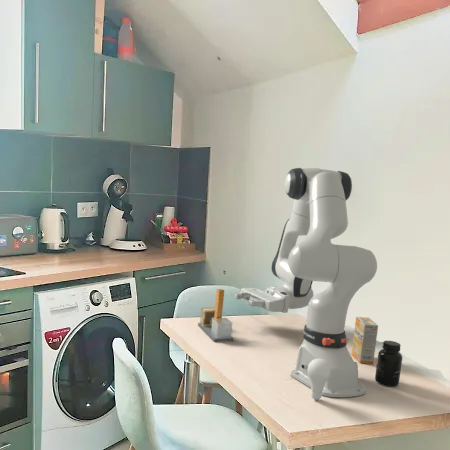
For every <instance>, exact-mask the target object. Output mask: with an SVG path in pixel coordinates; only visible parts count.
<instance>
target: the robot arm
mask: <svg viewBox="0 0 450 450" xmlns="http://www.w3.org/2000/svg"><path fill="white" fill-rule="evenodd" d="M287 172H288V173H287V174H286V177H285V180H284V189H285V193H286V195H287V196H288V198H290V199H293V204H292V205H293V206H292V210H291V216H290V218H288V219H287V220H286V222H285V224H284V227H283V230H282V233H281V237H280V240H279V243H278V248H277V252H276V254H275V256H274V258H273V261H272V263H271V272H272V275H274V277H277V278H278V279H279V280H281V281H282V282H284V283H283V285H276V286H275V285H272V286H271V285H270V286H268V287H267V288H266V289H265V290H263V289H260V288H256V287H242V288H241V289H240V292H239V293H236V294H234V295H235V297H234V298H235V299H236V300H242V299H243V300H245V301H247V302H249V303H248V305H249V306H251V307H259V308H262V309H263V310H266V311H267V312H271V313H273V312H274V313H283V314H287V313H288V311H289V310H297V309H303V308H306V307H307V306H308V307H307V315H306V322H305V325H304V328H303V331H302V332H303V334H302V337H303V341H302V343H301V345H300V346H299V348H298V351H297V355H296V359H295V367H294V369H292V370H291V371H290V376H291V377H292V378H294V379H296V381H297V380H298V382H301V383H302V384H303V385H305V386H307V387H309V388H310V389H311V380H310V378H309V375H308V371H307V369H308V365H309V363H310V362H311V361H312V360H314V359H318V358H320V359H324V360H325V361H327V362H328V363H329V365H330V367H331V375H330V377H329V379H328V380H327V381H326V383H325V385H324V388H323V391H322V395H321V396H325V397H331V398H352V397H353V396H354V397H359V396H362V395H365V394H366V392H367V389H366V387H364V385H362V384H361V382H359V369H358V366H359V364H358V362H357V361H354V359H353V357H352V354H350V351H349V350H348V348H347V343H349V338H347V333H346V330H345V326H346V321H347V320H346V319H347V314H348V309H349V306H350V303H351V301H352V299H353V297H354V296H355V295H356V293H357V292H358V291H359V290H360V289H362V287H363V286H365V285H366V284H367V283H369V282H371V281H372V280H373V278H375V275H376V273H377V270H378V262H377V259H376V256H375V254H374V253H373V252H372V251H371V250H370V249H366V248H362V247H361V246H356V245H343V244H334V243H332V241H331V240H332V239H334V238H337V237H339V236H341V235H342V234H344V233H345V232H346V231H347V228H348V225H349V221H348V219H349V218H348V210H347V200H349V198H350V196H351V194H352V192H353V190H352V189H353V184H352V183H353V182H352V177H351V176H350V175H349V173H347V172H344V171H340V170H337V171H336V170H331V169H323V168H318V167H317V168H316V167H315V168H312V167H309V168H306V167H305V168H301V167H295V168H291V169H290V170H289V171H287ZM299 236H304V238H303V240H302V241H300V242H299V243H297V241H298V238H299ZM313 282H319V283H321V282H322V283H323V282H324V283H329V285H328V286H327V288H326V289H325V290H323V291H322V292H319V293H316V294H314V291H313V288H312V286H313V285H312V284H313Z"/></svg>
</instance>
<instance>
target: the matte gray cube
mask: <svg viewBox="0 0 450 450" xmlns="http://www.w3.org/2000/svg"><path fill="white" fill-rule="evenodd" d="M232 331H233V322H232V320H229V318H227V317H222V318H212V328H211V334H212V335H213V336H214V337H215V338H216V339H229V338H231V337H232V334H233V333H232Z"/></svg>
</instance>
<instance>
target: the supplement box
mask: <svg viewBox="0 0 450 450" xmlns="http://www.w3.org/2000/svg"><path fill="white" fill-rule="evenodd" d="M354 323H355V324H354V332H353V337H352V338H353V339H352V345H351V346H352V347H351V356H353V357H354V358H355V359H356V360H357V361H358V363H359V364H369V365H372V364H373V365H374V360H375V352H376V344H377V337H378V330H379V325H378V323H376V322H374V321H373V320H372V319H371V318H370V317H362V316H356V317H355V322H354Z"/></svg>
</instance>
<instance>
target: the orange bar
mask: <svg viewBox="0 0 450 450" xmlns="http://www.w3.org/2000/svg"><path fill="white" fill-rule="evenodd" d="M224 295H225V290H224V289H222V288H218V289H217V288H216V294H215V304H214V305H215V306H214V307H215V314H214V317H212V318H223V311H224V309H223V307H224V298H225V296H224ZM212 318H211V319H210V325H211V326H212Z"/></svg>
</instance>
